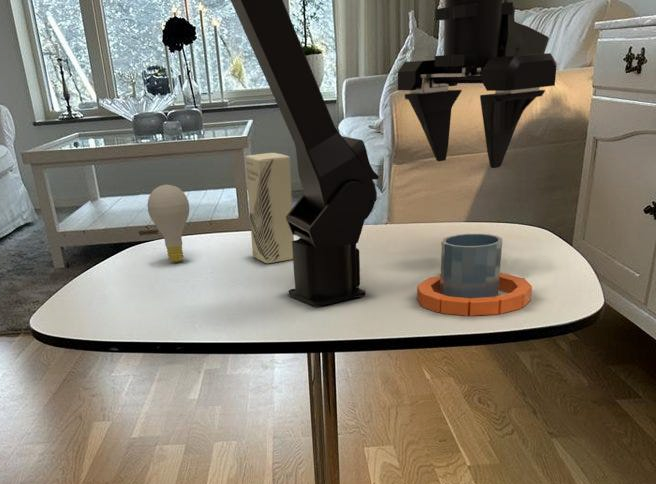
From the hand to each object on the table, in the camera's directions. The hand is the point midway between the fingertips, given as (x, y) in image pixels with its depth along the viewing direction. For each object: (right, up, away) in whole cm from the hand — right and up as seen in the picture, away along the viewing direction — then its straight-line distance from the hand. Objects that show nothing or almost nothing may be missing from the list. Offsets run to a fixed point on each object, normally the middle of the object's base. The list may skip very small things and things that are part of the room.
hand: (467, 164), depth 81 cm
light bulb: (-35, -5, +21) cm, 41 cm away
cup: (0, -15, -2) cm, 15 cm away
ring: (0, -15, -2) cm, 15 cm away
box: (-22, -5, +19) cm, 29 cm away
